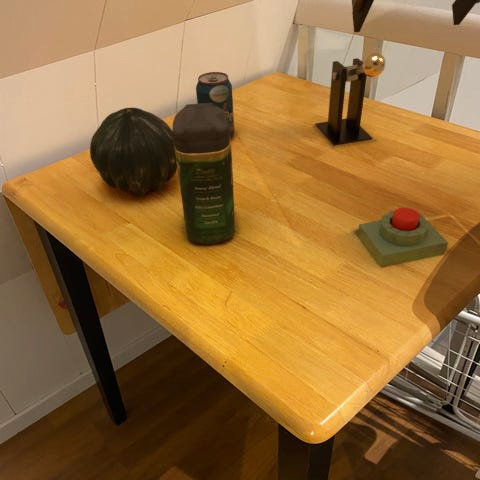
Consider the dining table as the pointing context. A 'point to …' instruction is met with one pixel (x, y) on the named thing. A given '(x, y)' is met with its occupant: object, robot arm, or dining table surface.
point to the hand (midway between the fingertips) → (405, 18)
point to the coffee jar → (205, 172)
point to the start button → (405, 219)
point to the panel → (400, 241)
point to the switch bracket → (337, 127)
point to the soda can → (217, 94)
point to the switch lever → (367, 67)
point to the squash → (134, 151)
